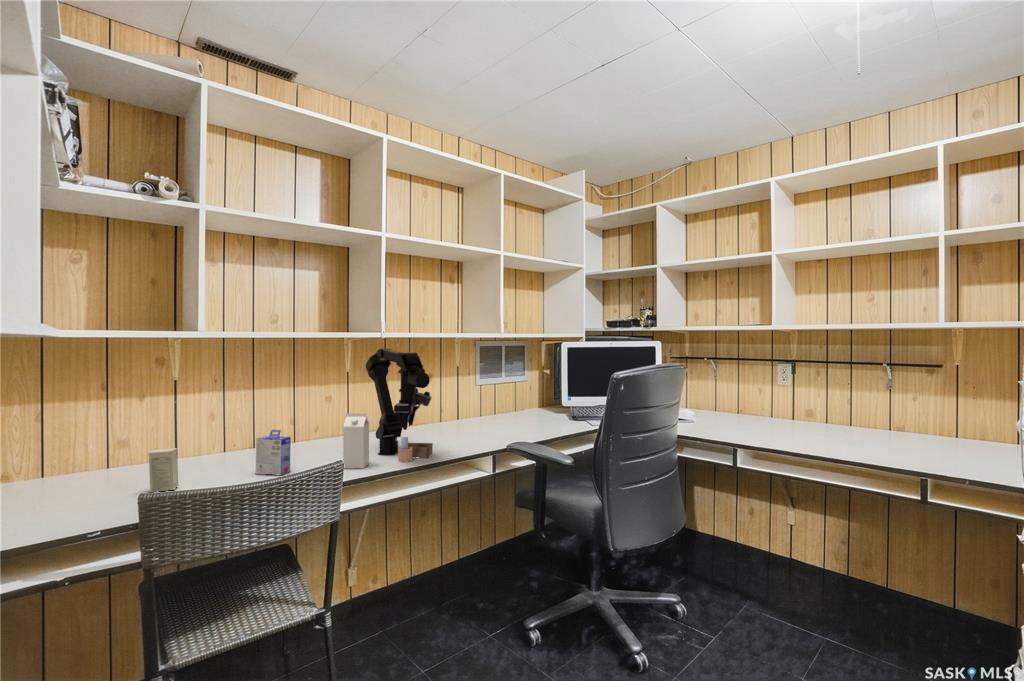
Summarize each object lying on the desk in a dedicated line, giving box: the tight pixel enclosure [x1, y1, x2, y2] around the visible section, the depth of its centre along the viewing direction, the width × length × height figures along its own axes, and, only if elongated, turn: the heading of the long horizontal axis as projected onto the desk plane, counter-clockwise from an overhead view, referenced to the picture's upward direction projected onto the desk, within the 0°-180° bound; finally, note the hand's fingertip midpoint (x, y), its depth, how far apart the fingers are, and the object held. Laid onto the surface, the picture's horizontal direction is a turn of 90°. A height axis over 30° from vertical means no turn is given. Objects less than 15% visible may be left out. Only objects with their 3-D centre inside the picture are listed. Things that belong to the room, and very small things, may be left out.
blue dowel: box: [400, 436, 409, 449], centre depth 187 cm, size 4×2×8 cm
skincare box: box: [148, 447, 179, 493], centre depth 151 cm, size 6×4×12 cm
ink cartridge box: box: [255, 429, 292, 476], centre depth 170 cm, size 10×6×14 cm, turn 80°
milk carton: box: [342, 412, 370, 469], centre depth 179 cm, size 7×7×19 cm
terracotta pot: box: [397, 446, 414, 463], centre depth 187 cm, size 5×5×5 cm
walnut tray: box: [408, 442, 433, 459], centre depth 195 cm, size 10×8×4 cm
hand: (408, 427), depth 187 cm, fingers open, 9 cm apart
